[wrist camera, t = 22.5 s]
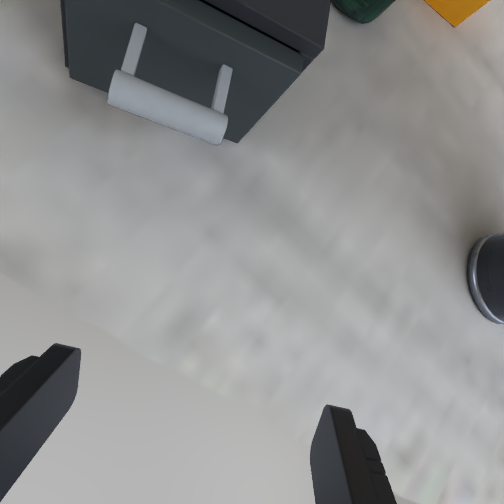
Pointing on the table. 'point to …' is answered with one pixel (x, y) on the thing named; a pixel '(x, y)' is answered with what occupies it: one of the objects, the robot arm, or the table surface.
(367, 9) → the coffee jar
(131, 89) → the grey drawer unit
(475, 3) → the orange juice
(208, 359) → the table surface
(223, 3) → the dark grey square box
